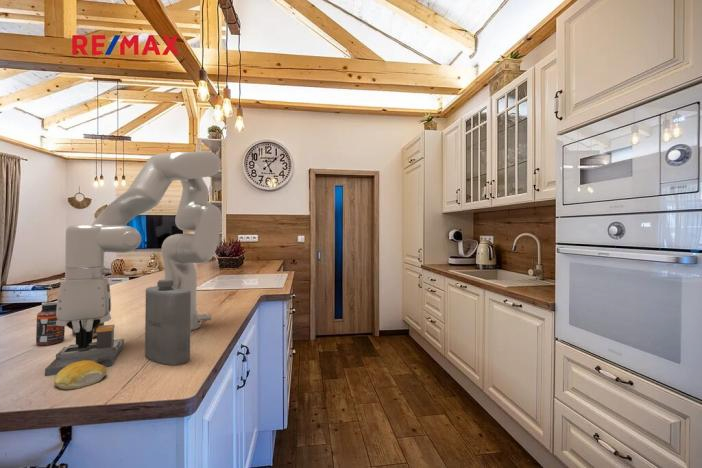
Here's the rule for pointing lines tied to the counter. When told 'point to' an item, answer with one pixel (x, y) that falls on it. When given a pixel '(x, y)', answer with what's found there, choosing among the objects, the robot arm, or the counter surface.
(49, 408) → the counter surface
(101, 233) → the robot arm
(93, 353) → the panel
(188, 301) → the flask
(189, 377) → the counter surface
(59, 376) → the bread roll
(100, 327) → the lever
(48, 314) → the supplement bottle
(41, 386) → the counter surface
